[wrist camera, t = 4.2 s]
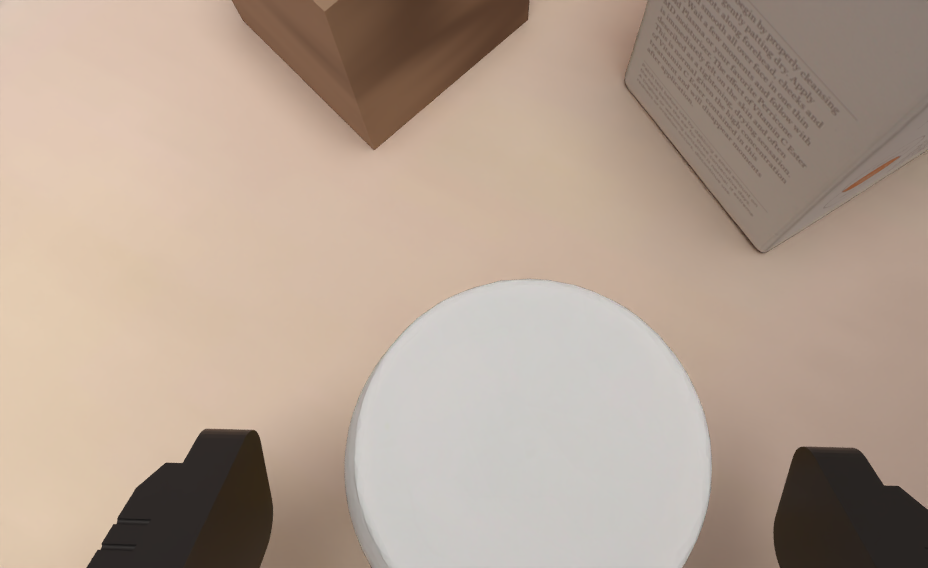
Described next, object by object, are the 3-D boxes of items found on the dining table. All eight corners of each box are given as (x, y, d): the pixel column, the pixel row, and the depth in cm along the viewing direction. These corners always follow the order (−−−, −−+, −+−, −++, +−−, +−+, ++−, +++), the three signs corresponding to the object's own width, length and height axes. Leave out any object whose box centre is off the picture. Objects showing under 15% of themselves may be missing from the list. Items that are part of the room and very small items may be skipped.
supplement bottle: (614, 607, 16) (781, 776, 7) (384, 574, 16) (241, 691, 7) (629, 373, 17) (781, 248, 8) (417, 349, 18) (334, 202, 9)
